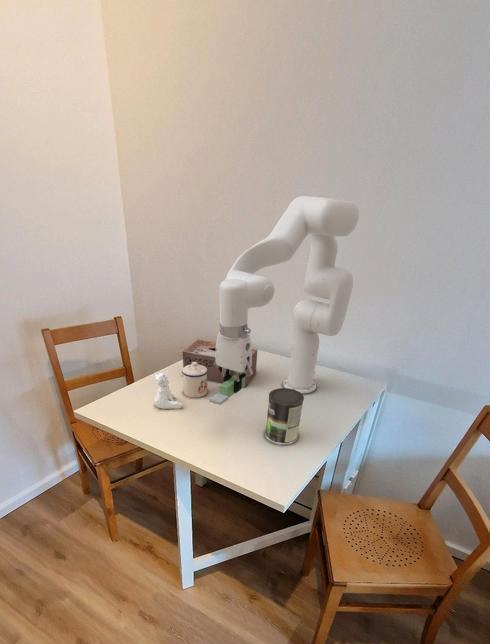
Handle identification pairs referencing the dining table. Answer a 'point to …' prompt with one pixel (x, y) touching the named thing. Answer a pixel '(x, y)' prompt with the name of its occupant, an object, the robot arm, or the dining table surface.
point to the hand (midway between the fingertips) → (232, 389)
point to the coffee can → (283, 415)
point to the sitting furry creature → (164, 394)
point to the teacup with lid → (195, 380)
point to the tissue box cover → (211, 360)
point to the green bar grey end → (225, 391)
